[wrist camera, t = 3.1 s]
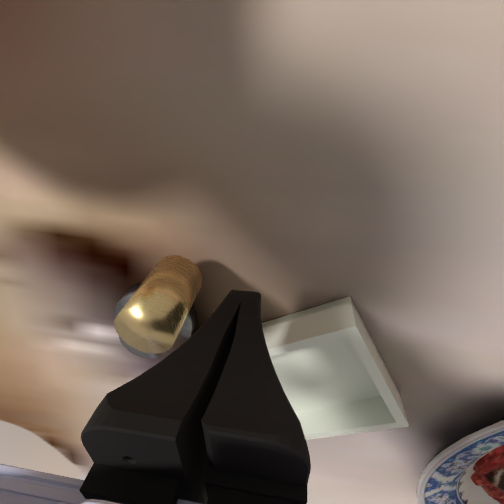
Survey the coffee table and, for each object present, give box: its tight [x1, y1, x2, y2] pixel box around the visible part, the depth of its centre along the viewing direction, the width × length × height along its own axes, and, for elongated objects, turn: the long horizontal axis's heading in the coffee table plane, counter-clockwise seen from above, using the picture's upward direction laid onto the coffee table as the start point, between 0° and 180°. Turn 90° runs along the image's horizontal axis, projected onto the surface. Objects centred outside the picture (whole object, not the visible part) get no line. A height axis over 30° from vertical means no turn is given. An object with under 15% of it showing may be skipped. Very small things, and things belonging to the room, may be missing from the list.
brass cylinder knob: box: [114, 255, 203, 358], centre depth 15 cm, size 8×3×4 cm, turn 150°
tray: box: [262, 296, 409, 440], centre depth 19 cm, size 9×9×2 cm
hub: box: [114, 283, 197, 352], centre depth 19 cm, size 5×5×1 cm
